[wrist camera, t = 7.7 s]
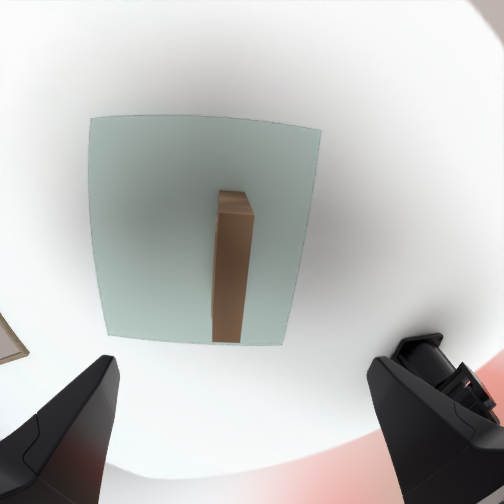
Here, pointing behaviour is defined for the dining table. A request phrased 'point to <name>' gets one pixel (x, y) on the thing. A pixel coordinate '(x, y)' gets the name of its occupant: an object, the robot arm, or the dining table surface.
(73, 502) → the robot arm
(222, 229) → the brown wooden block
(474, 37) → the dining table surface
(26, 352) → the picture frame
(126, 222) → the mat
